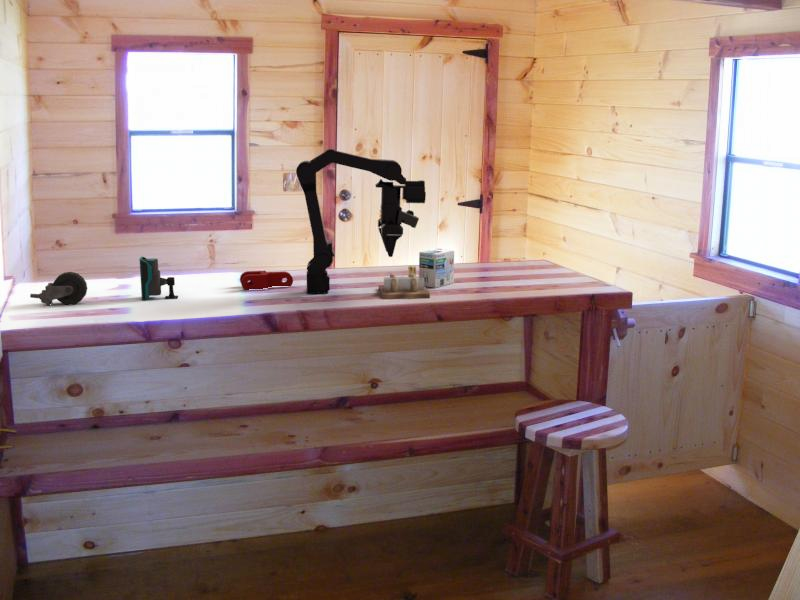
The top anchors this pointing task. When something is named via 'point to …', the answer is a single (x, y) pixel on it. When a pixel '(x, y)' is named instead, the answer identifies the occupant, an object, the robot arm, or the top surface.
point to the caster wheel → (64, 289)
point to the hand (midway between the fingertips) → (389, 254)
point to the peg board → (404, 293)
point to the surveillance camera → (153, 279)
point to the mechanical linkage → (264, 279)
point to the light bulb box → (437, 267)
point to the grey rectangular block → (403, 283)
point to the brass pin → (411, 270)
